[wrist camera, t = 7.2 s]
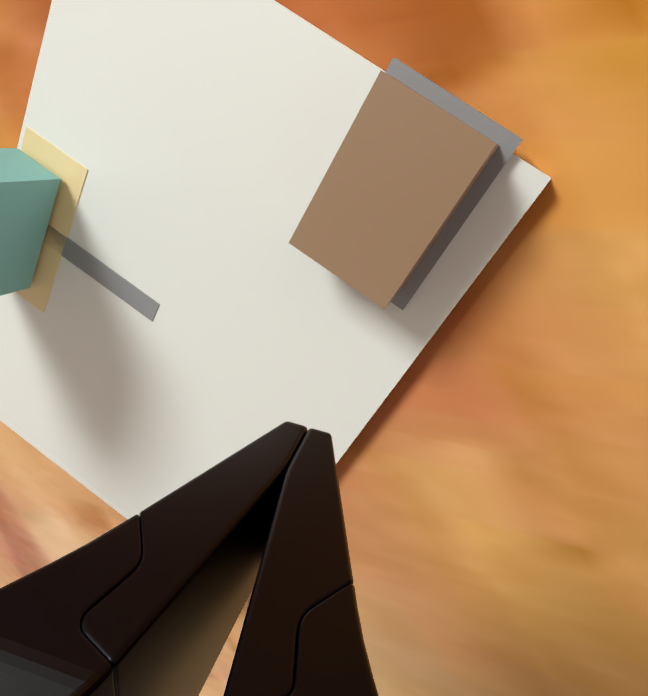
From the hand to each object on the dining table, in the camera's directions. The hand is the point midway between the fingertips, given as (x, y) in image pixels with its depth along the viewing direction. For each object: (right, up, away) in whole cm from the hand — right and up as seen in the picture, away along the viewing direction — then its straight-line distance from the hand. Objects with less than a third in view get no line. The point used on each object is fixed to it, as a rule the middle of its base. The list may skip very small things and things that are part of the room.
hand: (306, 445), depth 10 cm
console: (-6, +4, +15) cm, 17 cm away
